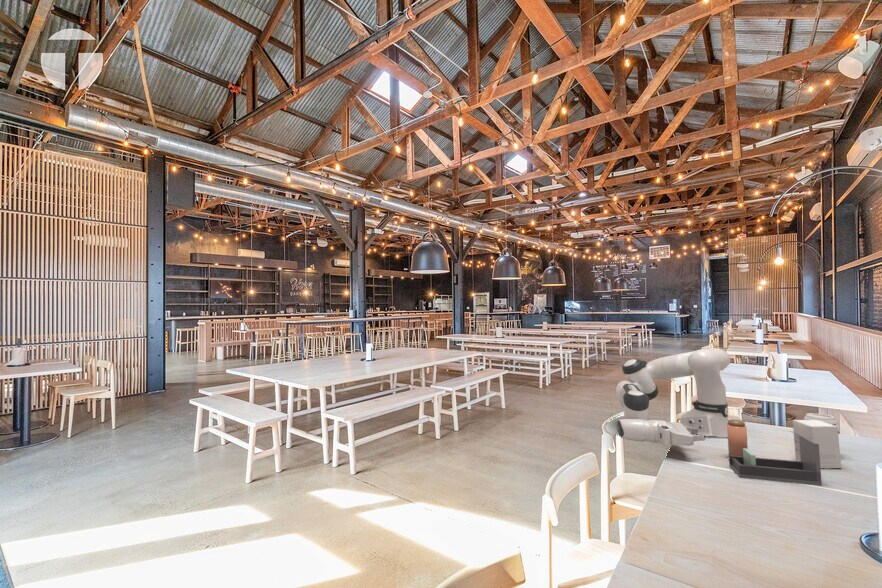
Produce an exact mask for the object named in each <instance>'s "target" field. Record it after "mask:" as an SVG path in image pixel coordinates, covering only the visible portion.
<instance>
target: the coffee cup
mask: <svg viewBox="0 0 882 588" xmlns="http://www.w3.org/2000/svg"><path fill="white" fill-rule="evenodd" d="M803 420H819V421H822V422H825V423H828V424H831V425H835V426H837V425H838V424H839V423H838V421H837V420H836V418H835V417H834V416H833V415H830V414H824V413H816V412H815V413H814V412H812V413H810V412H809V413H806V414H805V416H804V417H803Z"/></svg>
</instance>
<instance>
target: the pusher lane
mask: <svg viewBox="0 0 882 588" xmlns="http://www.w3.org/2000/svg"><path fill="white" fill-rule="evenodd" d="M799 442H800V457H801V461H797V460H787V459H777V458H776V459H775V458H764V457H755V458H756V466H753V465H744V459H743V457H742V456H731V455H729V454H728V462H729V468H730V469H731V470H732V471H733V473H735V474H736V475H737V476H738V477H739V478H745V479H753V480H754V479H756V480H762V481H764V480H765V481H773V482H774V481H775V482H784V483H793V484H794V483H795V484H804V485H806V484H807V485H812V486H814V485H815V486H822V473H821V470H822V469H820V455H819V444H818V443H816V442H814V441H812V440H810V439H809V438H807V437H805V436H803V435H799Z"/></svg>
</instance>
